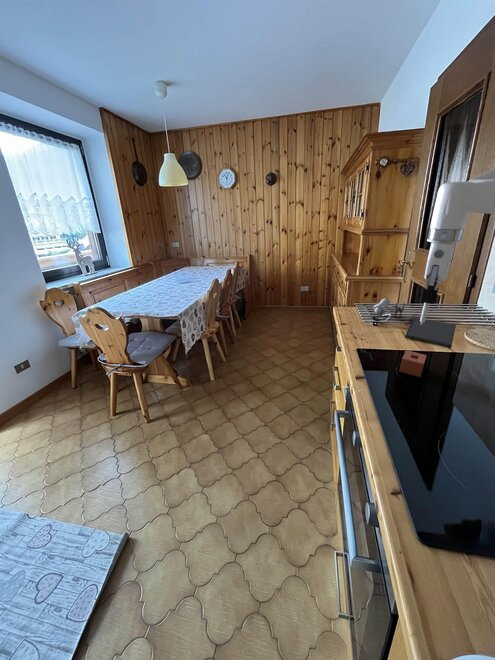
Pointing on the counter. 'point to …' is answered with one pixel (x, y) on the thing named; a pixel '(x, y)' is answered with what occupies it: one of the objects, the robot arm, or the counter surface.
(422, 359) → the reddish-brown block
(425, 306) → the stylus
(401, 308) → the clip-on lamp
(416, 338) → the plate
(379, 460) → the counter surface
